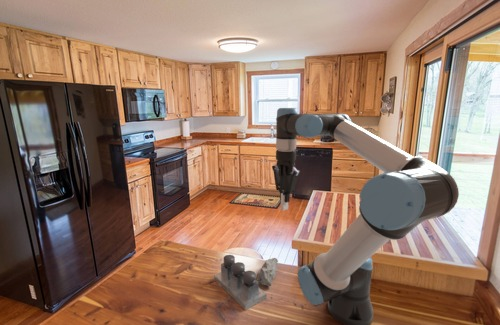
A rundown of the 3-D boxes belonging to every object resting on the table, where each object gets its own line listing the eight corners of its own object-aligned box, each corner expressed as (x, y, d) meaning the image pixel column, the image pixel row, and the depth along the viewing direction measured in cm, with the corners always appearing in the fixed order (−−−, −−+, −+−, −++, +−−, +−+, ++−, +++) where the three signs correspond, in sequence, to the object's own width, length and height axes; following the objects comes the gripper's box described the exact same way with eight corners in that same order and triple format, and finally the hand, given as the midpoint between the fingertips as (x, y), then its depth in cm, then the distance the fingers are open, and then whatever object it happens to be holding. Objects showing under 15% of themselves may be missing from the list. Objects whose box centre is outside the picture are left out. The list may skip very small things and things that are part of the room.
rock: (264, 264, 122) (264, 251, 120) (279, 267, 119) (279, 254, 118) (253, 285, 107) (253, 271, 106) (270, 289, 105) (270, 274, 104)
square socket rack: (266, 298, 100) (266, 282, 99) (245, 310, 94) (245, 293, 93) (233, 270, 117) (233, 256, 116) (214, 279, 111) (214, 264, 110)
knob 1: (237, 278, 110) (236, 258, 108) (227, 283, 108) (227, 262, 106) (231, 273, 114) (230, 253, 112) (221, 277, 111) (221, 257, 109)
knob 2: (247, 287, 105) (246, 266, 103) (237, 292, 102) (237, 270, 100) (240, 281, 109) (240, 260, 107) (231, 286, 106) (230, 265, 104)
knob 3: (258, 297, 100) (258, 275, 98) (248, 302, 97) (248, 279, 95) (250, 290, 103) (250, 269, 101) (241, 295, 100) (241, 273, 98)
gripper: (306, 151, 95) (303, 212, 100) (281, 146, 105) (279, 202, 110) (291, 153, 91) (289, 216, 95) (267, 148, 101) (266, 206, 105)
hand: (284, 209), depth 103 cm, fingers closed
